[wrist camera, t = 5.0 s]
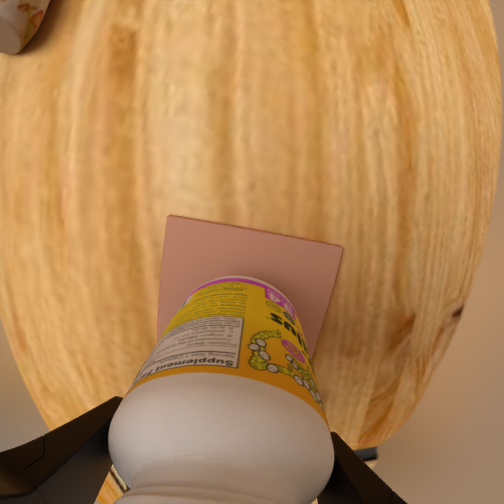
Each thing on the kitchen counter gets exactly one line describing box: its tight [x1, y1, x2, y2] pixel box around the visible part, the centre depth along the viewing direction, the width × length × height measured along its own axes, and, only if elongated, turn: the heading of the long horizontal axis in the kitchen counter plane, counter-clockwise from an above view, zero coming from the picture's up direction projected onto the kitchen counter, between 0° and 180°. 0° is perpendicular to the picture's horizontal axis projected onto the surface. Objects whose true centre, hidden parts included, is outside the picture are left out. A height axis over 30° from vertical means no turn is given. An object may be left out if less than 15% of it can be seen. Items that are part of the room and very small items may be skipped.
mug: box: [0, 0, 50, 54], centre depth 10 cm, size 8×10×10 cm
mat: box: [157, 215, 343, 360], centre depth 18 cm, size 10×10×1 cm
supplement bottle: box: [108, 275, 334, 504], centre depth 9 cm, size 7×7×13 cm
